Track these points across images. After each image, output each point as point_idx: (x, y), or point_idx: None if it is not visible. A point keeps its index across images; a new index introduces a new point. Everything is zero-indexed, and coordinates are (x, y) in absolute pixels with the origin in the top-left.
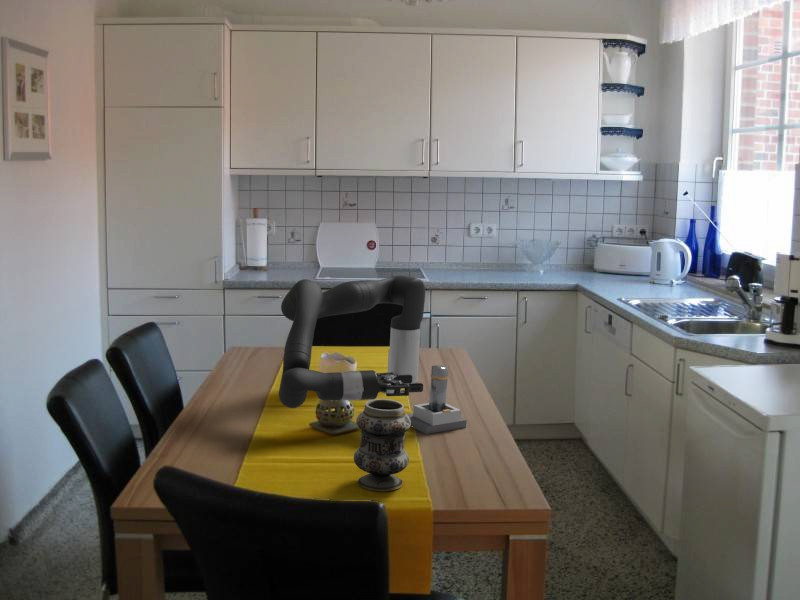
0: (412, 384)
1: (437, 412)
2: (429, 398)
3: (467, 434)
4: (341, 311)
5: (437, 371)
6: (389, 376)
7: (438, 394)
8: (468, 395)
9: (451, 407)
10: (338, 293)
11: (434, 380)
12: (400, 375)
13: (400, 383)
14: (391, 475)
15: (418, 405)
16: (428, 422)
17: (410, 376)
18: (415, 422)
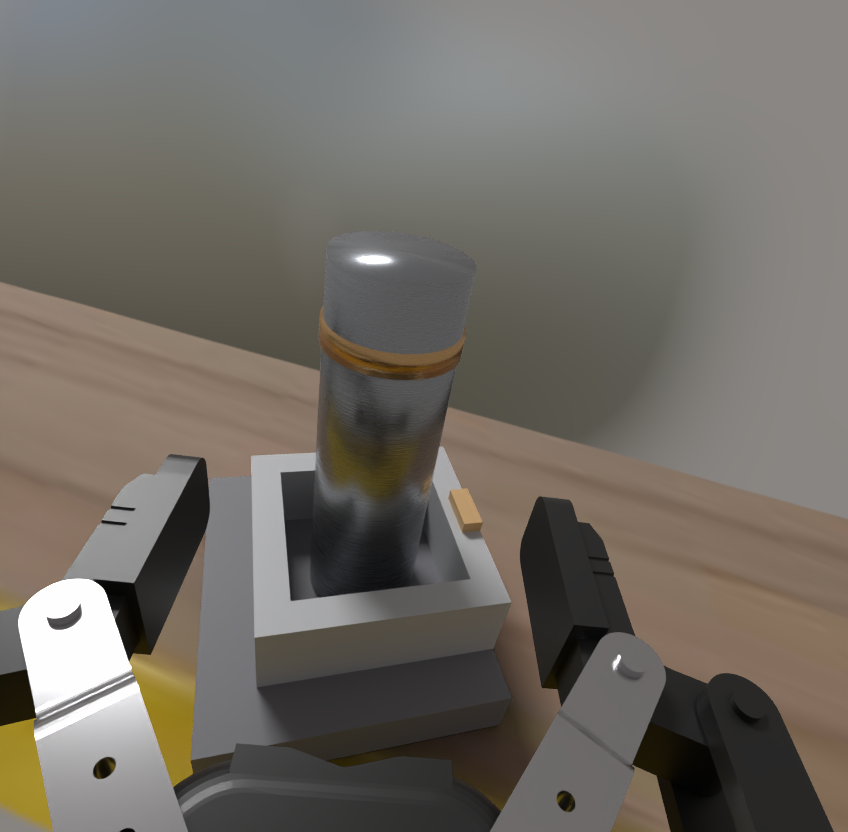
0: (594, 597)
1: (470, 561)
2: (346, 514)
3: (516, 528)
4: None
5: (457, 303)
6: (177, 802)
7: (434, 458)
8: (19, 324)
9: None
10: None
11: (427, 386)
12: (140, 565)
13: (629, 760)
14: None
15: (275, 607)
16: (447, 652)
17: (198, 476)
18: (378, 728)
